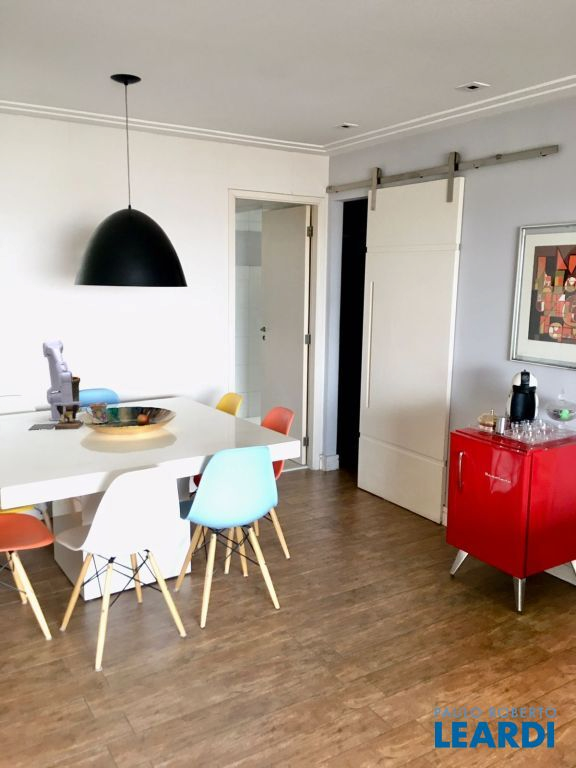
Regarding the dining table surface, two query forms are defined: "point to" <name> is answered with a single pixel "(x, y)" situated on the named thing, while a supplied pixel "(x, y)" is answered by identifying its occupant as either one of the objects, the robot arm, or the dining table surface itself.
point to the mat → (42, 426)
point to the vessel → (74, 393)
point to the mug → (98, 411)
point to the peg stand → (68, 424)
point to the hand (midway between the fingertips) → (68, 419)
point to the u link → (67, 414)
